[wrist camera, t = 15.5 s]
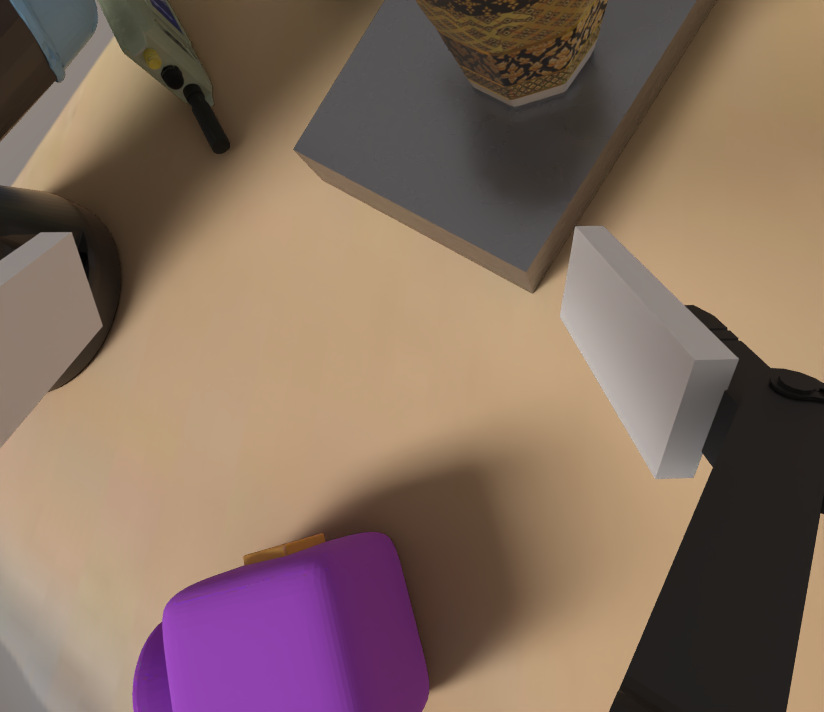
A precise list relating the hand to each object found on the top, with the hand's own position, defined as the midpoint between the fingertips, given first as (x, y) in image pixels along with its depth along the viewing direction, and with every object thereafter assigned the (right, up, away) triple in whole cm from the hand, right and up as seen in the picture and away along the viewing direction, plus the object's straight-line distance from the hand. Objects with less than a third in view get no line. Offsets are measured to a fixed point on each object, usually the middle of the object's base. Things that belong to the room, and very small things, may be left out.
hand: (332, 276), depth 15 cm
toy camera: (-3, -18, +17) cm, 25 cm away
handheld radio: (-17, +22, +28) cm, 40 cm away
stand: (+8, +14, +19) cm, 25 cm away
